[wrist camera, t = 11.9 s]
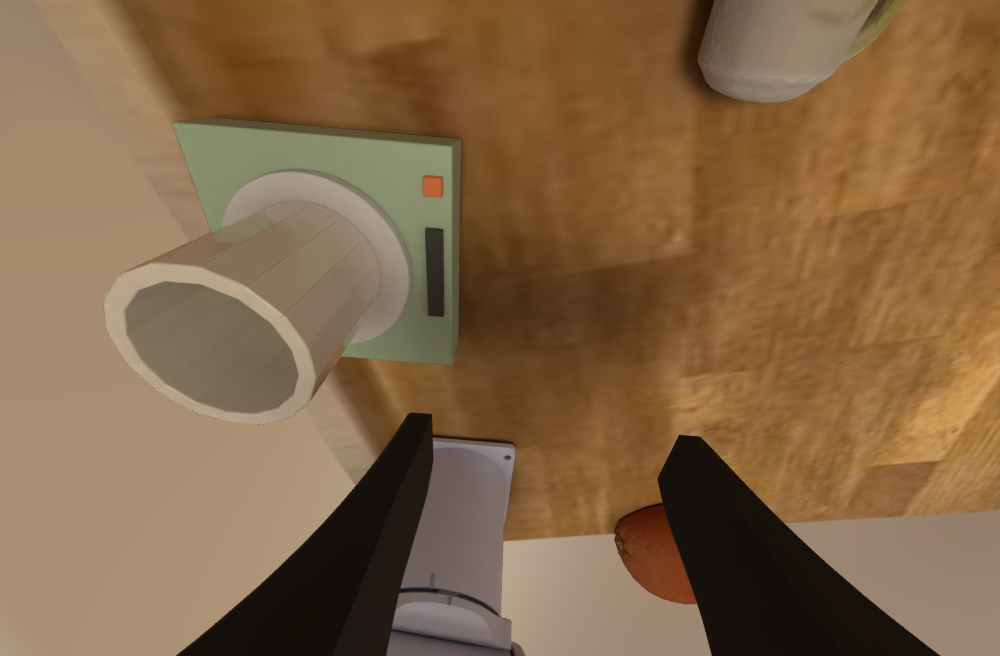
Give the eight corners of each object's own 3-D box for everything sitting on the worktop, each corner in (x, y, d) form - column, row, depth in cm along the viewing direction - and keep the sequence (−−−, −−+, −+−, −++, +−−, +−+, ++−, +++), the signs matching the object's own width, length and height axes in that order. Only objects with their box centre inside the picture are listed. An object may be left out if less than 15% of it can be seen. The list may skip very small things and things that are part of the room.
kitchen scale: (458, 339, 20) (449, 374, 18) (279, 324, 20) (245, 356, 18) (461, 138, 15) (449, 148, 12) (216, 117, 15) (155, 122, 12)
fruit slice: (614, 511, 27) (607, 500, 32) (634, 620, 25) (622, 590, 30) (735, 501, 26) (709, 491, 31) (766, 614, 24) (732, 584, 29)
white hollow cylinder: (387, 328, 17) (329, 432, 12) (268, 318, 17) (158, 417, 11) (373, 206, 14) (288, 274, 9) (228, 194, 14) (57, 254, 9)
